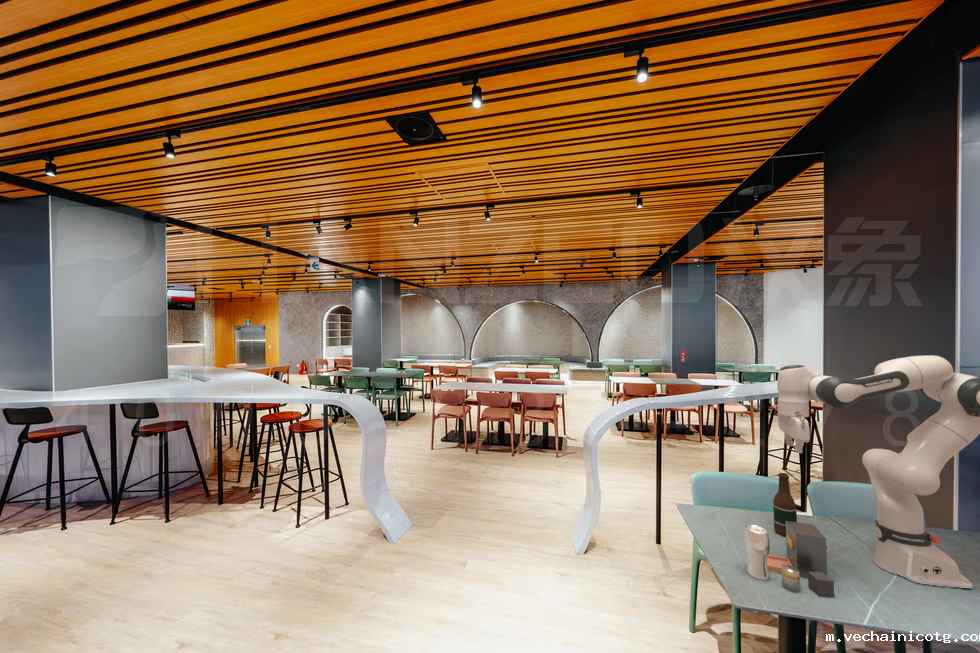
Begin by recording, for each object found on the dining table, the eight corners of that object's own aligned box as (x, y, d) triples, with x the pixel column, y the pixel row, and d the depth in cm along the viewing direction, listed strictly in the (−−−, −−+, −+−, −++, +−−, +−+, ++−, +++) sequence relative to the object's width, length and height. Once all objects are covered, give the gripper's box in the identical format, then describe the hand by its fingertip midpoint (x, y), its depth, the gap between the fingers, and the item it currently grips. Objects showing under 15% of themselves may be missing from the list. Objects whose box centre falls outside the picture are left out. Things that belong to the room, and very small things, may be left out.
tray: (788, 563, 134) (788, 558, 135) (796, 576, 127) (796, 570, 127) (761, 558, 137) (760, 553, 138) (767, 570, 130) (767, 565, 130)
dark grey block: (816, 565, 133) (815, 524, 134) (829, 582, 124) (827, 538, 124) (785, 560, 136) (784, 520, 137) (795, 576, 127) (794, 533, 128)
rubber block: (823, 588, 121) (823, 572, 121) (834, 597, 117) (833, 581, 117) (808, 587, 121) (807, 571, 122) (818, 596, 117) (818, 579, 117)
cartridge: (797, 585, 122) (796, 566, 123) (802, 594, 118) (802, 574, 118) (779, 582, 124) (779, 563, 124) (784, 590, 120) (784, 571, 120)
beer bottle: (769, 528, 160) (767, 470, 161) (789, 529, 159) (788, 471, 160) (780, 537, 152) (779, 476, 153) (802, 539, 151) (800, 477, 152)
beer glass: (763, 583, 123) (762, 536, 124) (740, 571, 130) (739, 526, 130) (774, 577, 127) (773, 531, 127) (752, 566, 133) (751, 522, 133)
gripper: (815, 416, 127) (816, 458, 126) (794, 406, 145) (795, 443, 145) (792, 414, 129) (792, 455, 129) (774, 405, 148) (774, 441, 147)
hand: (793, 448), depth 137 cm, fingers open, 8 cm apart
